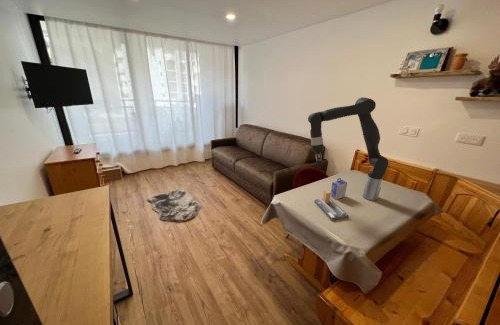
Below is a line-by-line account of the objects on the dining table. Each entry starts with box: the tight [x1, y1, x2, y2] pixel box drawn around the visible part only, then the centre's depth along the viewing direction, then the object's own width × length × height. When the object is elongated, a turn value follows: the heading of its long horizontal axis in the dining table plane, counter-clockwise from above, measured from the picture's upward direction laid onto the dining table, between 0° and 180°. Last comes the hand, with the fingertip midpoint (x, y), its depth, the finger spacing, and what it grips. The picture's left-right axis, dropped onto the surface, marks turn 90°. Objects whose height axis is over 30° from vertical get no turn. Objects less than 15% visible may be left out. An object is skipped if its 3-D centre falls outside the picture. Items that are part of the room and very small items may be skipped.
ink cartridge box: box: [330, 177, 348, 200], centre depth 149 cm, size 10×6×14 cm, turn 113°
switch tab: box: [322, 190, 331, 203], centre depth 140 cm, size 3×3×8 cm
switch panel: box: [314, 197, 349, 221], centre depth 136 cm, size 12×21×4 cm, turn 12°
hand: (319, 167), depth 137 cm, fingers open, 8 cm apart
